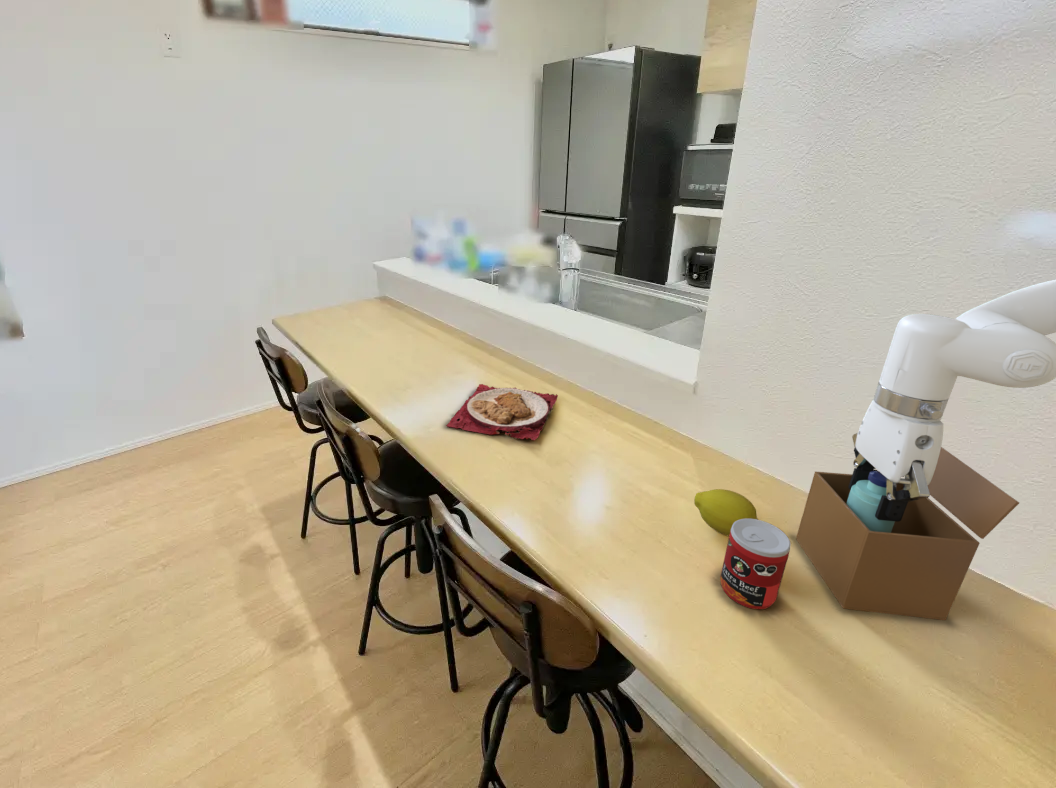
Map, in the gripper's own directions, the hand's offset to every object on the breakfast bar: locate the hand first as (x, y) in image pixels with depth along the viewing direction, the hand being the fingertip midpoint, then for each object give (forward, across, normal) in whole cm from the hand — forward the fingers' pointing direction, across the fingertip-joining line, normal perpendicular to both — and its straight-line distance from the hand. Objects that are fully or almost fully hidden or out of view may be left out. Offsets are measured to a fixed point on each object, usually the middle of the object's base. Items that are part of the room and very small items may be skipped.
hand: (873, 503), depth 76 cm
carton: (+14, 0, -2) cm, 14 cm away
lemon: (+14, +8, +17) cm, 24 cm away
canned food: (+14, -6, +18) cm, 24 cm away
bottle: (+7, 0, 0) cm, 7 cm away
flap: (-4, 0, -10) cm, 11 cm away
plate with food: (+15, +47, +60) cm, 77 cm away
